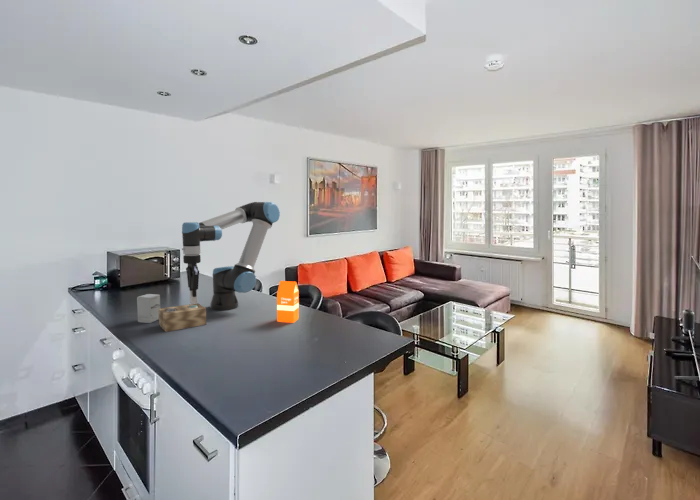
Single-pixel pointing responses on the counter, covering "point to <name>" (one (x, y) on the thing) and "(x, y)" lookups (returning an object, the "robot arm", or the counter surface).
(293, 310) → the orange juice
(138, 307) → the supplement box
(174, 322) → the oak socket block
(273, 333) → the counter surface
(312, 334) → the counter surface
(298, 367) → the counter surface
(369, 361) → the counter surface
